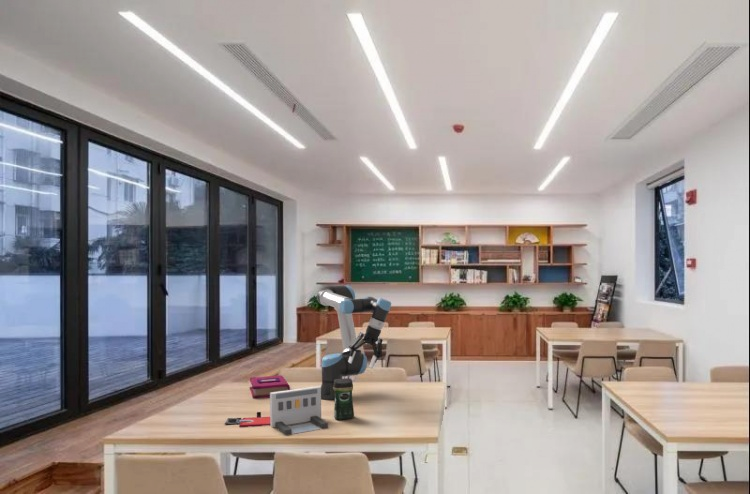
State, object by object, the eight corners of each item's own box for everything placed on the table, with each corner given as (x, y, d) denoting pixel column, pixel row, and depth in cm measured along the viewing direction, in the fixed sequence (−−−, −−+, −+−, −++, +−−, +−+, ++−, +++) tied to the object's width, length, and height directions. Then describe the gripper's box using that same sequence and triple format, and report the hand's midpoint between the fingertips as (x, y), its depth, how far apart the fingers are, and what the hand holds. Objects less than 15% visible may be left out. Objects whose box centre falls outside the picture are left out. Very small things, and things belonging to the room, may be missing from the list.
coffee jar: (352, 414, 242) (351, 376, 243) (355, 419, 234) (354, 379, 235) (332, 416, 240) (332, 377, 241) (334, 421, 232) (334, 381, 233)
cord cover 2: (310, 420, 233) (310, 416, 233) (316, 419, 235) (316, 415, 235) (321, 428, 221) (321, 424, 221) (327, 427, 222) (327, 423, 222)
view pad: (286, 427, 224) (286, 426, 224) (311, 423, 230) (311, 422, 230) (294, 433, 214) (294, 433, 214) (319, 429, 220) (319, 428, 220)
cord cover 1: (275, 426, 225) (275, 422, 225) (281, 425, 227) (281, 421, 227) (284, 435, 213) (284, 430, 213) (291, 434, 214) (291, 429, 214)
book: (283, 386, 312) (283, 373, 313) (290, 396, 286) (289, 382, 286) (249, 389, 306) (249, 376, 306) (252, 399, 279) (252, 385, 280)
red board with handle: (228, 419, 240) (222, 429, 225) (228, 413, 240) (222, 422, 225) (290, 416, 244) (289, 426, 229) (290, 410, 244) (289, 420, 229)
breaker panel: (270, 425, 227) (269, 392, 228) (319, 417, 238) (318, 386, 239) (272, 427, 224) (272, 394, 225) (322, 419, 235) (321, 387, 236)
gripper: (359, 323, 249) (343, 362, 249) (397, 335, 262) (382, 372, 262) (352, 319, 256) (337, 357, 255) (389, 330, 269) (375, 367, 268)
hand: (360, 365), depth 258 cm, fingers open, 13 cm apart
